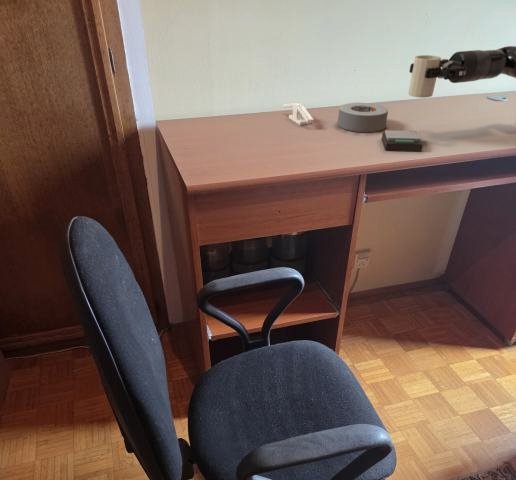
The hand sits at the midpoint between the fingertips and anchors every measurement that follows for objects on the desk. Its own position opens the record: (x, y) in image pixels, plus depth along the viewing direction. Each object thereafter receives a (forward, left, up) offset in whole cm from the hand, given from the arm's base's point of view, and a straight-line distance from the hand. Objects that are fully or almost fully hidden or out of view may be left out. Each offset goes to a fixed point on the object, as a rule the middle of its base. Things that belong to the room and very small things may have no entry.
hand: (418, 70), depth 122 cm
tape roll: (+12, -14, -18) cm, 26 cm away
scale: (+2, +5, -18) cm, 19 cm away
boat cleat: (+32, -18, -18) cm, 41 cm away
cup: (-2, -1, -6) cm, 6 cm away
